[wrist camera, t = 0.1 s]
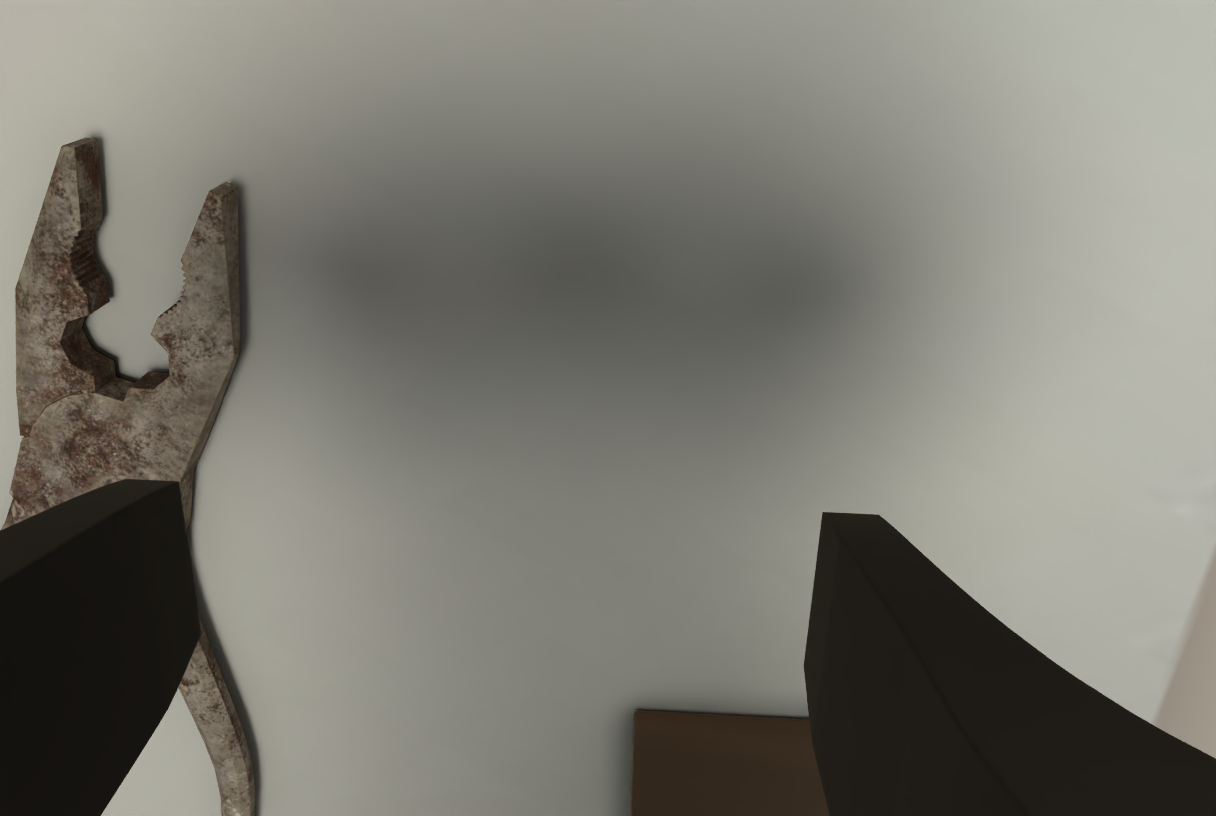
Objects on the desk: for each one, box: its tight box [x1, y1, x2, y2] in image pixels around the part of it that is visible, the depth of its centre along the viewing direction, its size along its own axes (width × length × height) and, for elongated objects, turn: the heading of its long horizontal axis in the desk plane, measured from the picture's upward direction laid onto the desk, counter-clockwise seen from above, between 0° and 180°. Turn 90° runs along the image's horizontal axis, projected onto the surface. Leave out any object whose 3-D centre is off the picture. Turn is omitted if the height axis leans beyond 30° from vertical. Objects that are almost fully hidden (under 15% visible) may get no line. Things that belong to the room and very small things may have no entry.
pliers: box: [1, 138, 255, 816], centre depth 24 cm, size 10×1×20 cm
